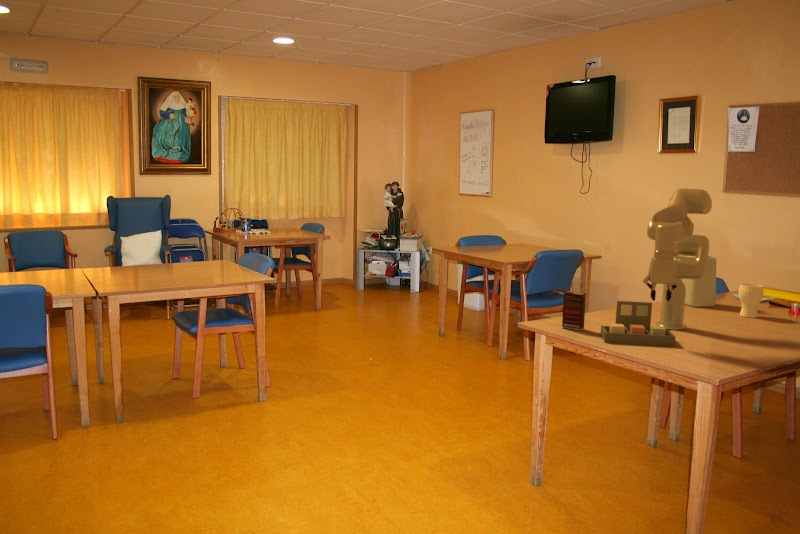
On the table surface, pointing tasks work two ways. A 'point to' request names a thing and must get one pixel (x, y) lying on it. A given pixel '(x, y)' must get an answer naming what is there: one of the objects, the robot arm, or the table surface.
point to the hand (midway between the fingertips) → (660, 299)
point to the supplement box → (573, 310)
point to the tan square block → (617, 328)
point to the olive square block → (657, 330)
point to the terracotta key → (637, 329)
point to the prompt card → (633, 313)
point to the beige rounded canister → (702, 287)
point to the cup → (750, 299)
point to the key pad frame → (637, 337)
